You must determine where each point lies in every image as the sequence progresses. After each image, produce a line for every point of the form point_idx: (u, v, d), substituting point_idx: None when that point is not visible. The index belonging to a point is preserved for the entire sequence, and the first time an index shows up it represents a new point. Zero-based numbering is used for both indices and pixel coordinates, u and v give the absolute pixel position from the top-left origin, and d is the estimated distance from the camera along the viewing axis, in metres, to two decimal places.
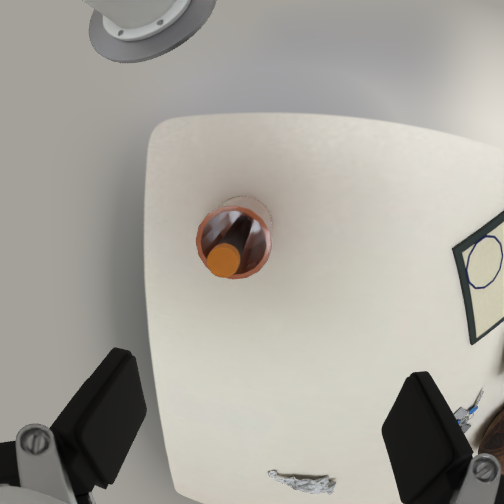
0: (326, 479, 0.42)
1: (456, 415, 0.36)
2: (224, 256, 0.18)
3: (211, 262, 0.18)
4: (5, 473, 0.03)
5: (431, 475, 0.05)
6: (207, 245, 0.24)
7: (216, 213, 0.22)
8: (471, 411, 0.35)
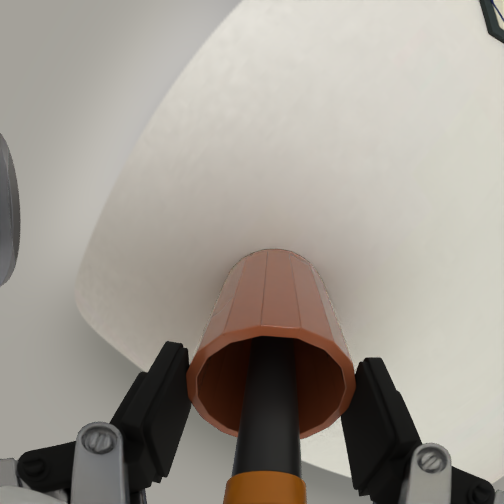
0: None
1: None
2: None
3: None
4: (64, 478, 0.04)
5: (377, 460, 0.06)
6: None
7: (193, 384, 0.09)
8: None
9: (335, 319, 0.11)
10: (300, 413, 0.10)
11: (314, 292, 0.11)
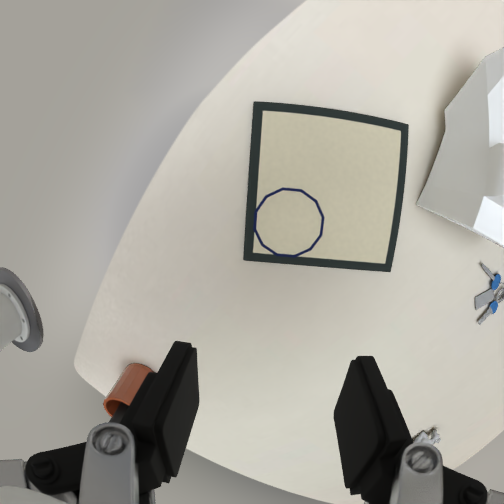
0: (424, 434, 0.39)
1: (480, 305, 0.31)
2: None
3: None
4: (74, 480, 0.04)
5: (367, 459, 0.06)
6: None
7: (105, 407, 0.31)
8: (494, 286, 0.30)
9: None
10: None
11: (136, 387, 0.33)
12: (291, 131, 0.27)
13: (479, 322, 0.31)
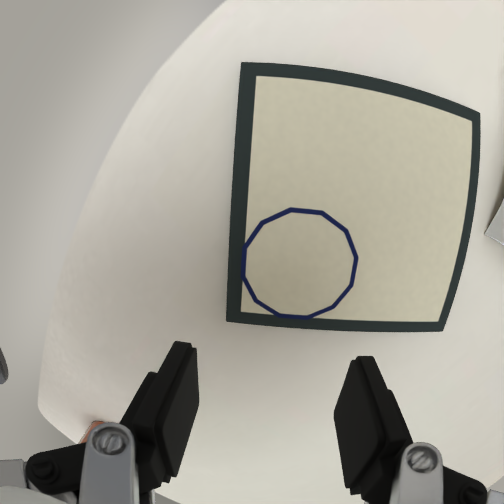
0: None
1: None
2: None
3: None
4: (74, 480, 0.04)
5: (367, 459, 0.06)
6: None
7: None
8: None
9: None
10: None
11: None
12: (306, 110, 0.15)
13: None
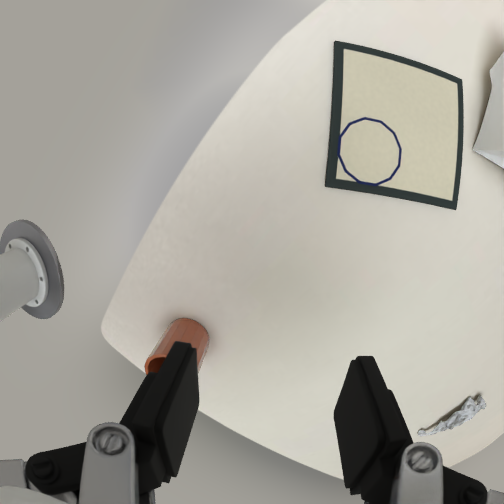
0: (470, 400, 0.36)
1: None
2: None
3: None
4: (74, 480, 0.04)
5: (367, 459, 0.06)
6: None
7: (147, 369, 0.29)
8: None
9: None
10: None
11: (188, 342, 0.31)
12: (370, 69, 0.24)
13: None
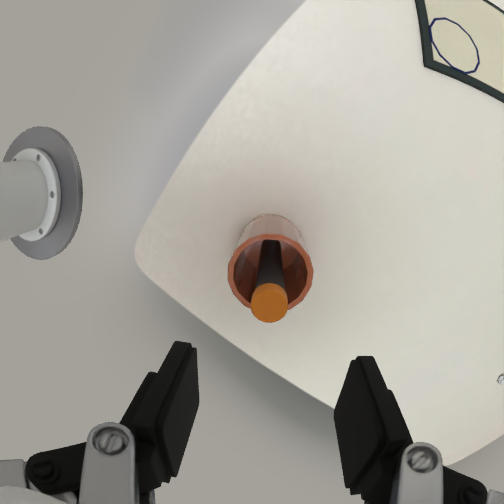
0: None
1: None
2: (264, 301, 0.15)
3: (261, 316, 0.15)
4: (74, 480, 0.04)
5: (367, 459, 0.06)
6: None
7: (231, 270, 0.20)
8: None
9: (303, 243, 0.22)
10: (287, 298, 0.21)
11: (292, 230, 0.22)
12: None
13: None
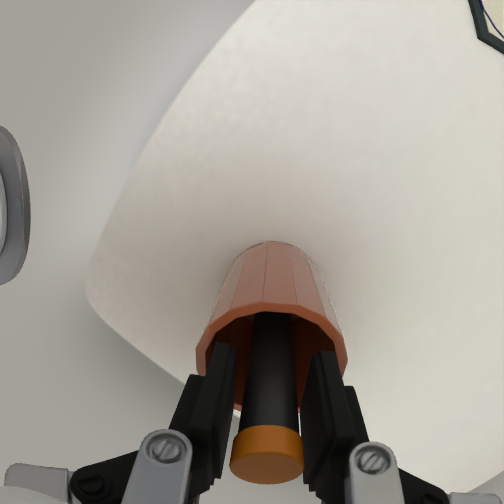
0: None
1: None
2: (256, 464, 0.06)
3: (251, 478, 0.06)
4: None
5: None
6: None
7: (202, 358, 0.10)
8: None
9: (328, 302, 0.12)
10: (298, 389, 0.12)
11: (309, 278, 0.13)
12: None
13: None
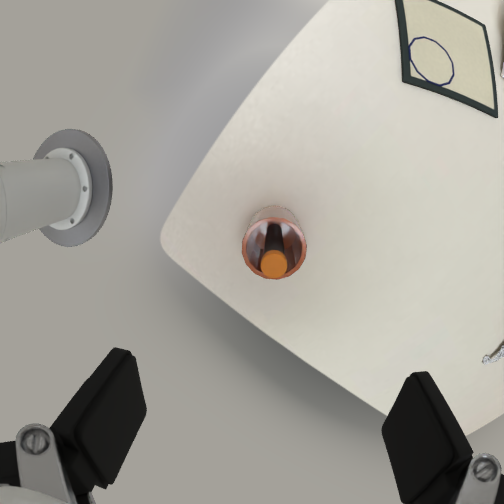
0: None
1: None
2: (270, 261, 0.22)
3: (268, 273, 0.22)
4: (5, 473, 0.03)
5: (431, 475, 0.05)
6: None
7: (245, 245, 0.26)
8: None
9: (299, 226, 0.28)
10: (287, 268, 0.28)
11: (290, 216, 0.28)
12: (421, 6, 0.22)
13: None
